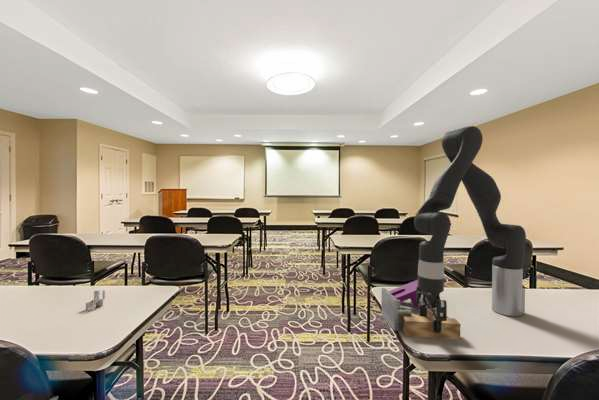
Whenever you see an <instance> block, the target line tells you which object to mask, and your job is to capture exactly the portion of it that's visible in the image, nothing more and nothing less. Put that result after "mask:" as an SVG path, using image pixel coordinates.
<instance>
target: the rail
mask: <svg viewBox="0 0 599 400" xmlns="http://www.w3.org/2000/svg"><path fill="white" fill-rule="evenodd" d="M433 320H434V319H433V317H423V316H419V315H412V316H407V315H403V329H402V331H403V333H404V335H405V336H407V337H416V338H417V337H419V338H431V339H447V340H458V341H459V340H461V323H460V322H459V321H458V319H456V318H455V317H449V318H447V321H442V325H441V332H440V333H435V332H434V331H433Z"/></svg>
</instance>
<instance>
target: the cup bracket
mask: <svg viewBox="0 0 599 400" xmlns="http://www.w3.org/2000/svg"><path fill="white" fill-rule="evenodd" d="M389 291H390V290H388V289H386V288H385V287H384V288H383V287H382V288H381V316H382V318H383V319H384V320H385V321H386V323H387V324H388V326H390V327H391V329H392V330H393V331H394V332H399V331H400V330H403V315H407V316H413V312H412V309H401V307H402V306H401V305H402V304H401V303H402V302H401V301H400V300H397V299H396V298H395V297H394V296H393V295H392V294H391V293H390V292H389Z"/></svg>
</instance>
